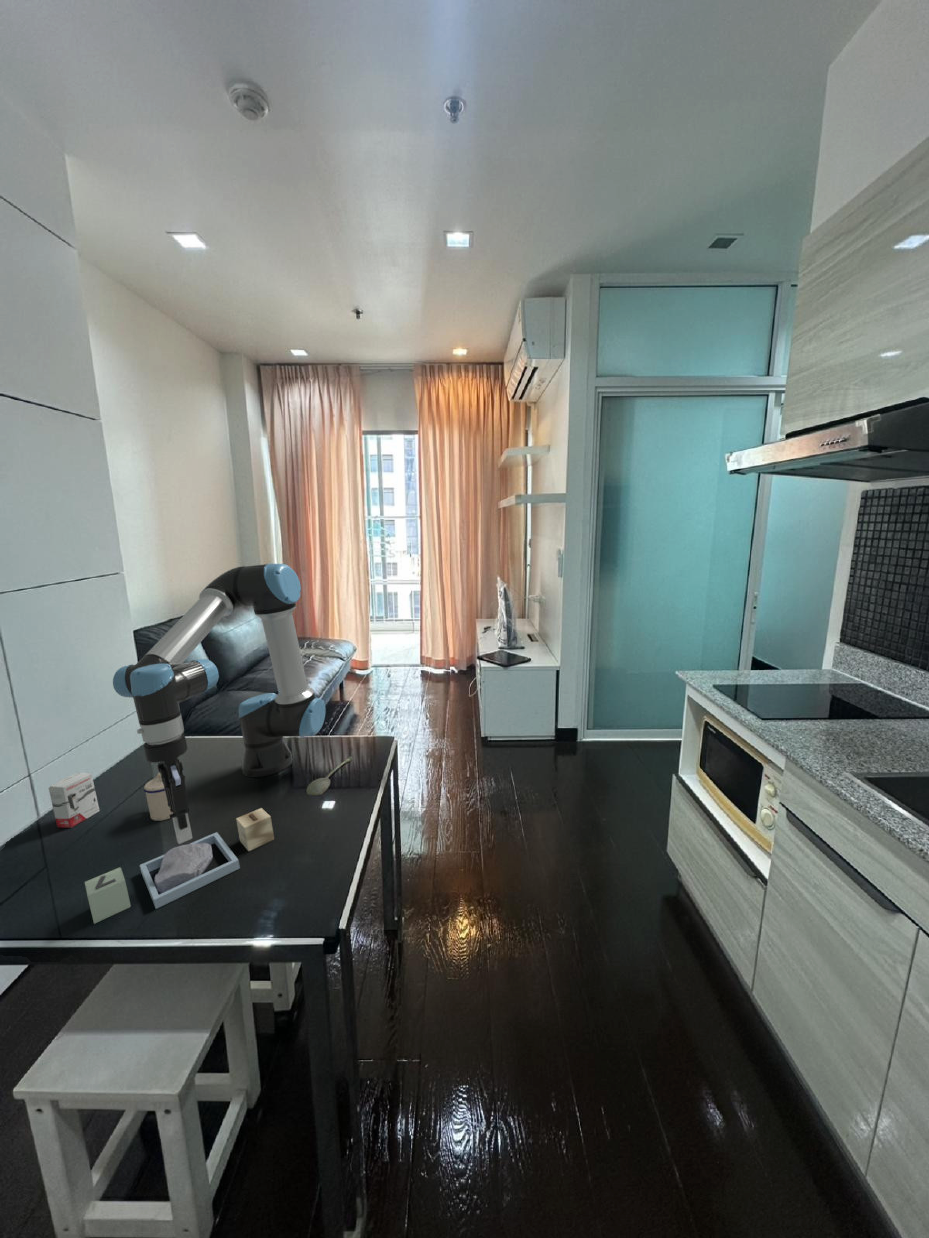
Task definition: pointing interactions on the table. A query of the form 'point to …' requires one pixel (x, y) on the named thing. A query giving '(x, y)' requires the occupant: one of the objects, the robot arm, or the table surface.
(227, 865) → the slate-blue holder
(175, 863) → the stone block
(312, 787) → the soupspoon
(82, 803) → the ink box
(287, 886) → the table surface
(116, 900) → the numbered sage-green block
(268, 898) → the table surface
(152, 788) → the teacup with lid
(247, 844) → the numbered birch block
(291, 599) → the robot arm
